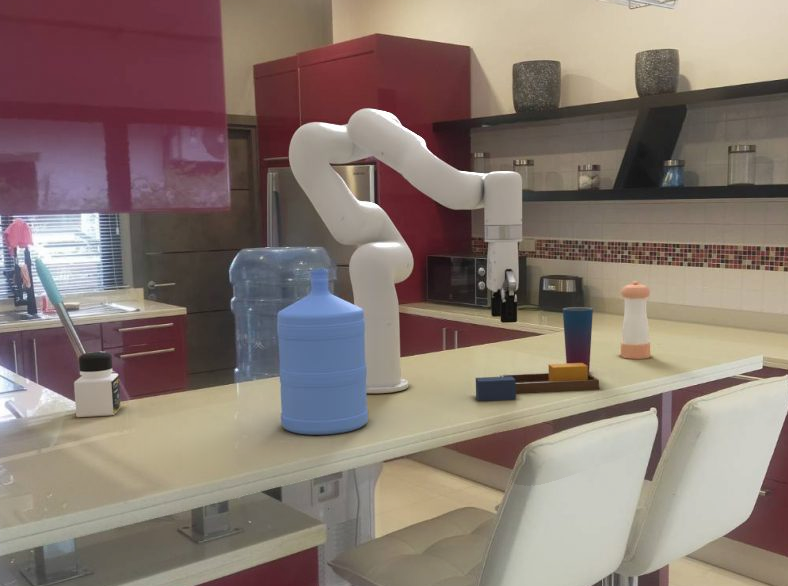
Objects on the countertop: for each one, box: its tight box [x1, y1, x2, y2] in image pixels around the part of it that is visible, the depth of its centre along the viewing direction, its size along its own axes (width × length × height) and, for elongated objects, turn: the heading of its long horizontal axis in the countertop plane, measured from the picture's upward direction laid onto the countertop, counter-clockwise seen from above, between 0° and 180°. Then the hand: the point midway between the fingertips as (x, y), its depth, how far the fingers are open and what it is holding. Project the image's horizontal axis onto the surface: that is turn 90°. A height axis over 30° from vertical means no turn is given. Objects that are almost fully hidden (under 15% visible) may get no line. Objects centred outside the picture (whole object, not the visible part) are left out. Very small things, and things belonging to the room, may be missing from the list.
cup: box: [562, 306, 594, 374], centre depth 198 cm, size 7×7×15 cm
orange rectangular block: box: [548, 363, 588, 382], centre depth 185 cm, size 8×4×4 cm, turn 95°
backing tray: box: [499, 372, 600, 394], centre depth 185 cm, size 19×10×2 cm, turn 95°
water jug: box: [276, 269, 369, 436], centre depth 154 cm, size 16×16×28 cm
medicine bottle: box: [73, 351, 122, 418], centre depth 170 cm, size 7×7×12 cm
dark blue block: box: [475, 376, 517, 402], centre depth 174 cm, size 8×4×4 cm, turn 95°
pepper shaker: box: [620, 280, 651, 360], centre depth 218 cm, size 7×7×19 cm
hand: (503, 319), depth 174 cm, fingers open, 9 cm apart
